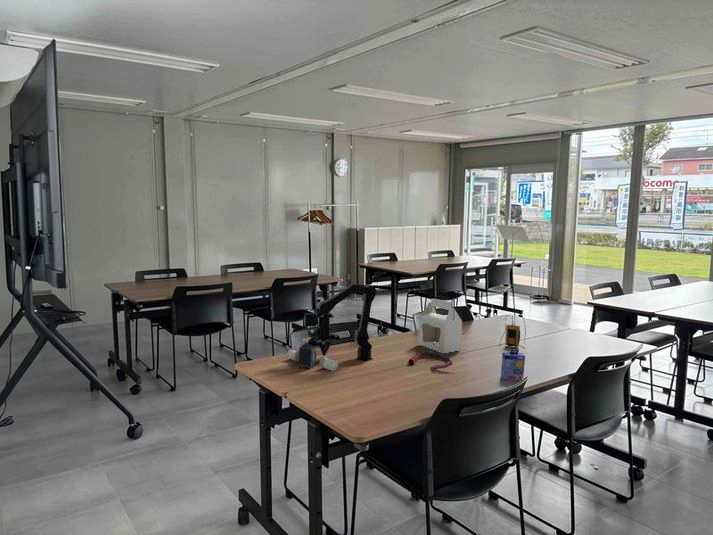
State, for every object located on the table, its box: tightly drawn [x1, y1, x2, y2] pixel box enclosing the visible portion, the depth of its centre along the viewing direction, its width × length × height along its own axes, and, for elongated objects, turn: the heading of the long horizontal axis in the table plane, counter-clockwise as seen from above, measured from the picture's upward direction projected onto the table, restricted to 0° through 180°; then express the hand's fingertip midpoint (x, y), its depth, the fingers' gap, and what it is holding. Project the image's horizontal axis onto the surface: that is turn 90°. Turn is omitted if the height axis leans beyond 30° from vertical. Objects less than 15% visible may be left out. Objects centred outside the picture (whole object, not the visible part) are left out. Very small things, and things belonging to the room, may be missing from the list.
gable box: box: [418, 297, 463, 354], centre depth 297 cm, size 22×13×28 cm, turn 33°
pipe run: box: [286, 349, 338, 372], centre depth 261 cm, size 30×6×6 cm, turn 52°
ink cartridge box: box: [500, 349, 526, 381], centre depth 246 cm, size 10×6×14 cm, turn 88°
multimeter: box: [498, 313, 527, 348], centre depth 306 cm, size 15×10×20 cm
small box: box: [298, 342, 318, 369], centre depth 259 cm, size 11×6×10 cm, turn 168°
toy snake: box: [407, 350, 456, 375], centre depth 265 cm, size 31×22×5 cm
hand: (324, 355), depth 268 cm, fingers closed
